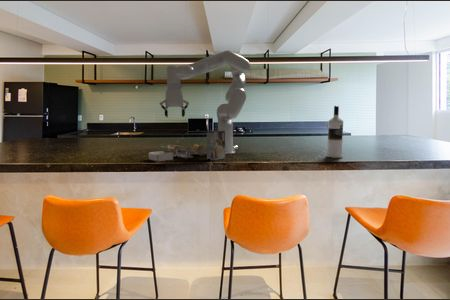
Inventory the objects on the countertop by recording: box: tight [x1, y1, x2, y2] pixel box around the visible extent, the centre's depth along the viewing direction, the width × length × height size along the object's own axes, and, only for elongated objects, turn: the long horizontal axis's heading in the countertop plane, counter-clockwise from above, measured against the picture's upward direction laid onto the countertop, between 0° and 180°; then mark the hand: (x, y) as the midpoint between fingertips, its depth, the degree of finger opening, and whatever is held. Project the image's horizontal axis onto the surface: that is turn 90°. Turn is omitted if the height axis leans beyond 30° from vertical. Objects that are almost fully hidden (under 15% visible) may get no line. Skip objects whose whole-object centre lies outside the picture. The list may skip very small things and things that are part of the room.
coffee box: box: [206, 130, 226, 161], centre depth 175 cm, size 9×6×16 cm
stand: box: [164, 150, 203, 159], centre depth 187 cm, size 21×17×4 cm
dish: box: [148, 150, 174, 163], centre depth 174 cm, size 10×10×4 cm
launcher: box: [160, 144, 204, 154], centre depth 188 cm, size 21×14×4 cm
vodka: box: [325, 105, 344, 159], centre depth 179 cm, size 9×9×30 cm
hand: (174, 116), depth 182 cm, fingers open, 9 cm apart
